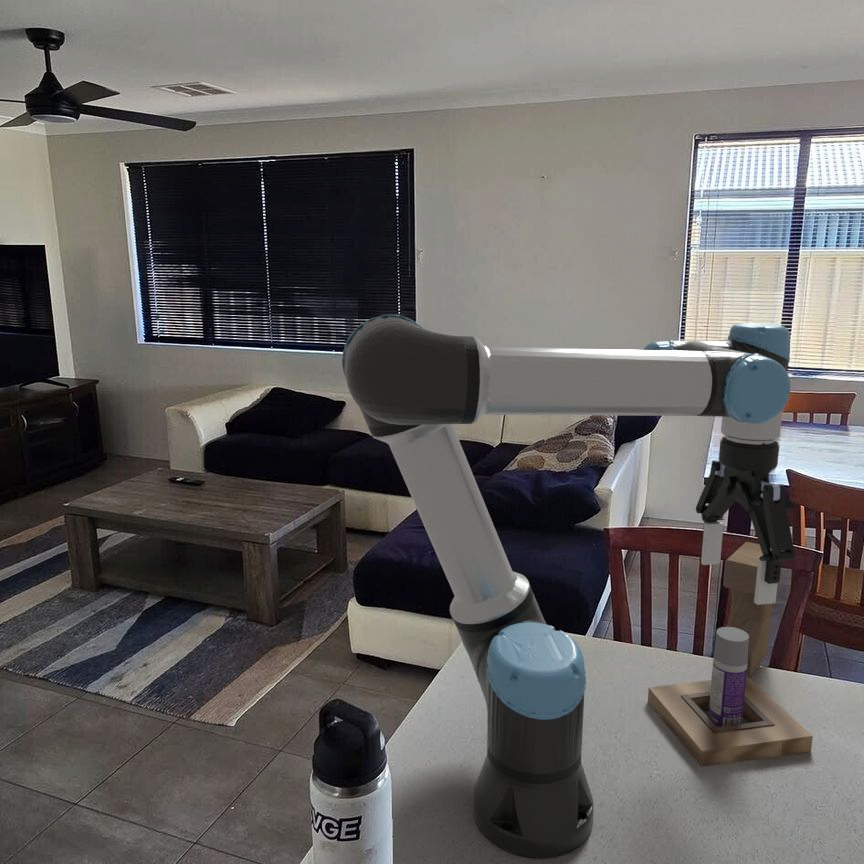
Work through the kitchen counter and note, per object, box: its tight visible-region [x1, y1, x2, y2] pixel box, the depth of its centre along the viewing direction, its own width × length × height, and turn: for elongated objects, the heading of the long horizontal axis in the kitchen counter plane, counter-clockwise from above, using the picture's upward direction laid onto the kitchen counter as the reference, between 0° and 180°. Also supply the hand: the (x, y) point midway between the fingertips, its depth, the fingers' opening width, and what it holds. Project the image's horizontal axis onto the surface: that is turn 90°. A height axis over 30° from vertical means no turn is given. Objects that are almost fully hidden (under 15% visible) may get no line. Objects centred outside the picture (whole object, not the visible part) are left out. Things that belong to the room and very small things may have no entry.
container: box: [707, 626, 749, 727], centre depth 111 cm, size 5×5×15 cm
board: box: [647, 676, 814, 768], centre depth 113 cm, size 17×16×3 cm
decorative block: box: [722, 541, 774, 679], centre depth 128 cm, size 11×6×20 cm, turn 140°
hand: (735, 582), depth 108 cm, fingers open, 13 cm apart
